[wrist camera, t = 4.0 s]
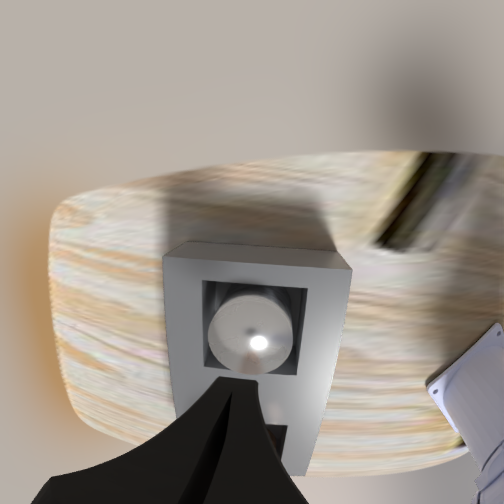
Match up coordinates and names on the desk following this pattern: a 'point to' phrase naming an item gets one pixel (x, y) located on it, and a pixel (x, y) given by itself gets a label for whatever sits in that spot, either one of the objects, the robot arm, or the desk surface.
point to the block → (303, 327)
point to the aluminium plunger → (252, 328)
